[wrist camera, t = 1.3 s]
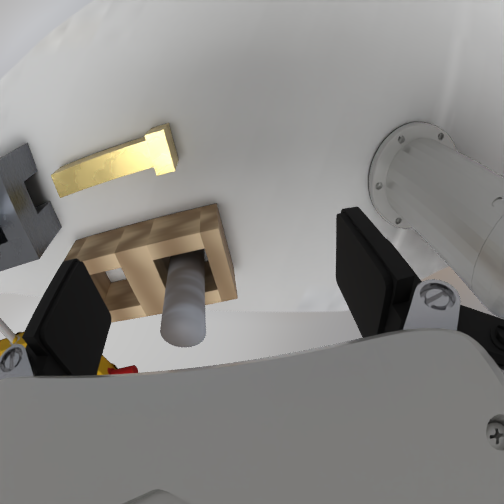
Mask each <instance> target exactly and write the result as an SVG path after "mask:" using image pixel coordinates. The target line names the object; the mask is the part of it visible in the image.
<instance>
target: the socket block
mask: <svg viewBox="0 0 504 504" xmlns="http://www.w3.org/2000/svg"><path fill="white" fill-rule="evenodd" d="M35 172H37V168H36V165H35V163H34V160H33V157H32V154H31V151H30V148H29V146H28V143H27V144H25V145H23V146H21V147H19V148H17V149H15V150H14V151H12V152H10V153H8V154H7V155H5V156H3V157H1V158H0V226H1V228H2V230H3V233H2V234H1V235H0V271H3V270H6V269H9V268H12V267H15V266H18V265H21V264H25V263H28V262H31V261H34V260H37V259H40V257H41V256H42V254H43V253H44V251H45V250H46V248H47V247H48V245H49V244H50V243H51V241H52V240H53V238H54V237H55V236H56V234H57V233H58V231H59V230H60V229H61V225H60V223H59V220H58V218H57V216H56V214H55V212H54V209H53V207H52V205H51V203H50V202H47V203H45V204H42V205H40V206H37V207H34V205H33V203H32V200H31V198H30V196H29V193H28V191H27V189H26V186H25V184H24V181H25V180H27V179H28V178H29V177H30V176H32V175H33V174H34V173H35Z"/></svg>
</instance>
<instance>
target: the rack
mask: <svg viewBox="0 0 504 504" xmlns="http://www.w3.org/2000/svg"><path fill="white" fill-rule="evenodd" d="M204 248H205V251H206V254H207V258H208V262H205V256H204ZM169 256H170V258H169ZM75 258H77V259H79V260H80V261H82V262H83V263H84V264H85V266H86V268H87V270H88V272H89V274H90V276H91V278H92V280H93V282H94V284H95V286H96V288H97V290H98V292H99V293H100V295H101V297H102V299H103V301H104V303H105V304H106V306H107V308H108V310H109V312H110V314H111V322H117V321H122V320H128V319H134V318H140V317H145V316H151V315H157V314H162V321H161V330H160V332H161V336H162V337H163V339H164V340H165V341H166V342H168V343H169V344H172V345H174V346H178V347H192V346H195V345H197V344H199V343H200V342H202V341H203V340H204V338H205V335H206V325H205V324H206V323H205V305H208V304H213V303H218V302H223V301H228V300H232V299H237V298H238V297H237V290H236V282H235V275H234V268H233V264H232V260H231V257H230V253H229V249H228V245H227V241H226V238H225V234H224V230H223V226H222V222H221V218H220V214H219V210H218V207H217V203H216V204H212V205H208V206H203V207H199V208H195V209H191V210H187V211H183V212H178V213H174V214H170V215H166V216H162V217H159V218H155V219H151V220H147V221H143V222H139V223H136V224H132V225H128V226H125V227H121V228H117V229H114V230H110V231H107V232H103V233H99V234H96V235H93V236H89V237H86V238H82V239H79V240H76V241H75V243H74V245H73V246H72V248H71V249H70V251H69V253H68V255H67V256H66V258H65V260H64V261H66V260H71V259H75ZM64 261H63V262H64ZM117 268H122V270H123V272H124V274H125V276H126V278H127V279H126V280H121V281H117V282H112V283H111V282H110V280H109V279H108V277H107V275H106V273H105V271H108V270H113V269H117Z"/></svg>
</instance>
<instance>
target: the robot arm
mask: <svg viewBox="0 0 504 504" xmlns="http://www.w3.org/2000/svg"><path fill="white" fill-rule="evenodd" d="M369 192H370V197H371V200H372V203H373V206H374V207H375V209H376V211H377V212H378V213H379V214H380V215H381V217H382V218H383V219H384V220H386V221H387V222H388V223H389V224H391V225H393V226H395V227H399V228H413V229H414V230H415V231H416V232H417V233H418V234H419V235H420V236H421V237H422V238H423V239H424V240H425V241H426V242H427V243H428V244H429V245H430V246H431V247H432V248H433V249H434V250H435V251H436V252H437V253H438V254H439V255H440V256H441V257H442V258H443V259H444V260H445V262H446V263H447V264H448V265H449V266H450V267H451V268H452V269H453V270H454V271H455V273H456V274H457V275H458V276H459V277H460V278H461V279H462V280H463V282H464V283H465V284H466V285H467V286H468V287H469V289H470V290H471V291H472V292H473V293H474V295H475V296H476V297H477V298H478V299H479V301H480V302H481V303H482V304H483V305H484V306H485V307H486V308H487V309H488V310H489V311H490V312H491V313H492V314H494V315H496V316H498V317H500V318H498V317H495V316H492V315H489V314H486V313H483V312H480V311H477V310H474V309H471V308H468V307H465V306H462V305H460V296H459V293H458V291H457V290H456V289H455V288H454V287H453V286H451V285H450V284H448V283H447V282H444V281H441V280H435V279H432V280H426V281H423V282H422V281H421V280H420V279H419V278H418V276H417V275H416V274H415V272H414V271H413V270H412V268H411V267H410V266H409V265H408V263H407V262H406V261H405V260H404V258H403V257H402V256H401V255H400V253H399V252H398V251H397V250H396V248H395V247H394V246H393V245H392V244H391V242H390V241H389V240H388V239H385V237H384V236H383V235H382V234H381V233H380V231H379V230H378V229H377V228H376V227H375V225H374V224H373V223H372V222H371V221H370V220H369V219H368V217H367V216H366V215H365V214H364V213H363V212H362V211H361V209H360V208H359V207H352V208H345V209H342V210H341V213H340V214H337V218H336V280H337V284H338V286H339V288H340V290H341V292H342V294H343V297H344V299H345V301H346V303H347V305H348V307H349V309H350V311H351V313H352V315H353V318H354V320H355V322H356V324H357V325H358V328H359V331H360V333H361V335H362V337H363V338H360V339H356V340H351V341H346V342H342V343H338V344H333V345H328V346H324V347H319V348H314V349H309V350H304V351H299V352H294V353H289V354H283V355H278V356H272V357H267V358H260V359H254V360H248V361H241V362H234V363H228V364H221V365H213V366H206V367H197V368H188V369H178V370H168V371H158V372H145V373H130V374H112V375H97V372H98V368H99V364H100V360H101V357H102V353H103V349H104V346H105V342H106V338H107V334H108V331H109V328H110V325H111V314H110V312H109V310H108V308H107V306H106V304H105V303H104V301H103V299H102V297H101V295H100V293H99V292H98V290H97V288H96V286H95V284H94V282H93V280H92V278H91V276H90V274H89V272H88V270H87V268H86V266H85V264H84V263H83V262H82V261H80V260H79V259H77V258H75V259H71V260H66V261H64V262H63V263H62V264H61V266H60V268H59V269H58V271H57V273H56V274H55V276H54V278H53V279H52V281H51V283H50V285H49V286H48V288H47V290H46V292H45V293H44V295H43V297H42V299H41V301H40V303H39V304H38V306H37V308H36V310H35V312H34V314H33V316H32V318H31V320H30V322H29V324H28V326H27V328H26V330H25V332H24V334H23V336H22V338H23V340H24V341H25V342H26V343H27V346H26V348H25V347H24V346H23V345H21V344H15V345H12V346H10V347H9V348H8V349H6V350H5V351H4V352H3V354H2V355H1V357H0V504H504V178H503V177H502V176H500V175H498V174H497V173H495V172H493V171H492V170H490V169H488V168H487V167H485V166H483V165H482V164H481V163H480V162H476V161H474V160H472V159H471V158H469V157H467V156H465V155H463V154H461V153H459V152H457V149H456V147H455V144H454V143H453V141H452V139H451V138H450V136H449V135H448V134H447V133H446V132H445V131H443V130H442V129H440V128H439V127H437V126H434V125H432V124H429V123H424V122H413V123H409V124H406V125H403V126H401V127H400V128H398V129H396V130H395V131H394V132H392V133H391V134H390V135H389V136H388V137H387V138H386V139H385V140H384V142H383V143H382V144H381V145H380V147H379V149H378V151H377V152H376V154H375V156H374V159H373V162H372V164H371V169H370V174H369ZM501 318H503V319H501Z"/></svg>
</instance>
